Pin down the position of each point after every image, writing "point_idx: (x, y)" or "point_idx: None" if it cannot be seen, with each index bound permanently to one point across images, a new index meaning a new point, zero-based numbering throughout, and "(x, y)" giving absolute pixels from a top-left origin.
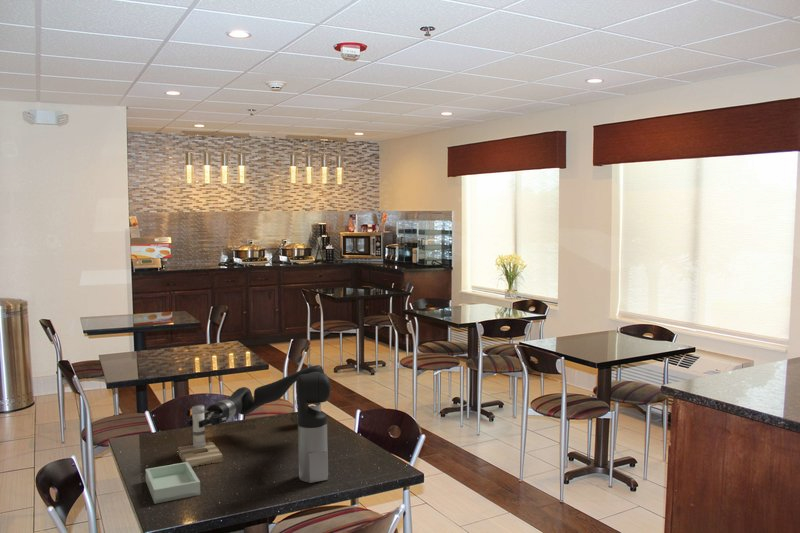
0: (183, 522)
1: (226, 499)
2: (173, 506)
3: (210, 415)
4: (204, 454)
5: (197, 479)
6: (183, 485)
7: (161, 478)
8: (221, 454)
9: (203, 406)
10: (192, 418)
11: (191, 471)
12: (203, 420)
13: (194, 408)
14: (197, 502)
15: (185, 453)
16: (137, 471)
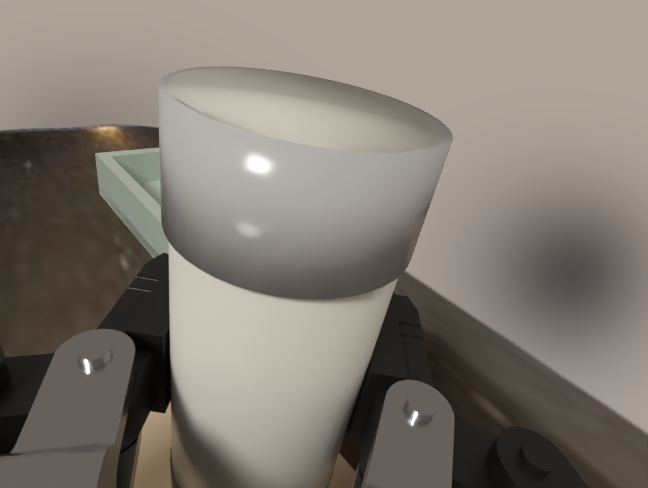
0: (118, 129)
1: (3, 171)
2: None
3: (28, 452)
4: (156, 474)
5: (107, 161)
6: (149, 150)
7: None
8: None
9: (179, 88)
10: (454, 430)
11: (150, 200)
12: (164, 277)
13: (320, 81)
14: None
15: (335, 484)
16: (461, 342)
